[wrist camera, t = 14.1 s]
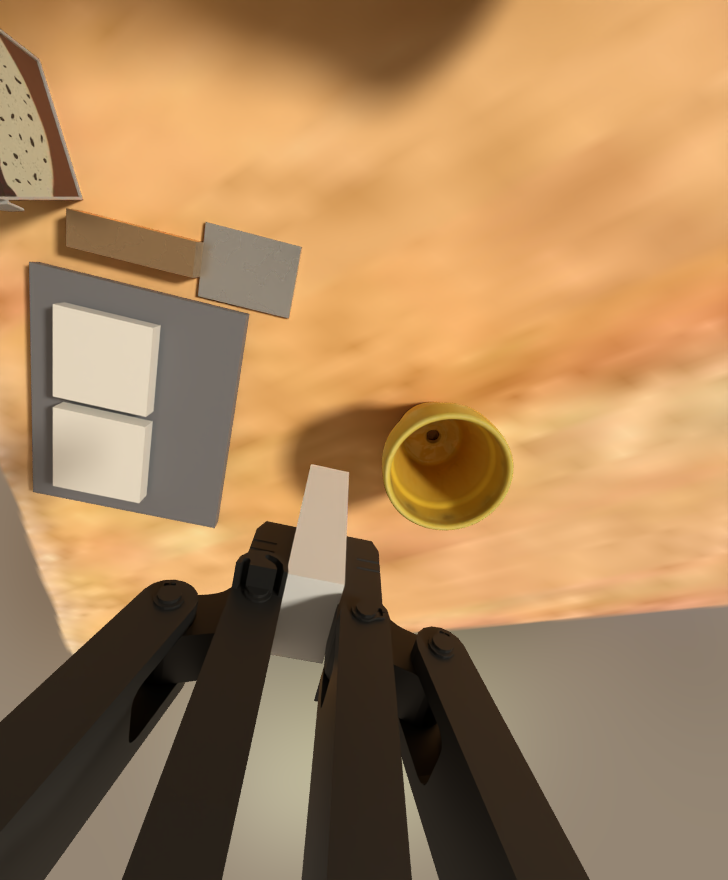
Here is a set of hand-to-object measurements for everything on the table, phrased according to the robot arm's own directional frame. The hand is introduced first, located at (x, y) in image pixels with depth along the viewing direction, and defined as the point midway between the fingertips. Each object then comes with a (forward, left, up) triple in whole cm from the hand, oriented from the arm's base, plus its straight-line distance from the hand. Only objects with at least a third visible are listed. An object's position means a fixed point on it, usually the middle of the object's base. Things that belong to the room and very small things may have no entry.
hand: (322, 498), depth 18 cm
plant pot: (+5, +10, -27) cm, 29 cm away
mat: (+9, -18, -26) cm, 33 cm away
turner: (-5, -15, -27) cm, 31 cm away
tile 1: (+5, -16, -24) cm, 29 cm away
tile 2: (+14, -16, -24) cm, 32 cm away
